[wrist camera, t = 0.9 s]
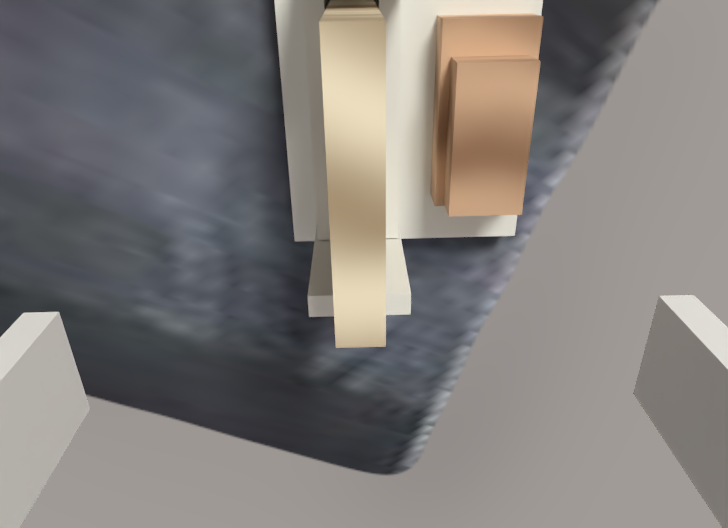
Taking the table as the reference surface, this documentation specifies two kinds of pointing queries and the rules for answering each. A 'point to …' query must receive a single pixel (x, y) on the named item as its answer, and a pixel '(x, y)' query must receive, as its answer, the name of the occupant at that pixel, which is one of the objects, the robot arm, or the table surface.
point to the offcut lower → (473, 40)
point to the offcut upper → (489, 133)
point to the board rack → (403, 136)
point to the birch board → (356, 167)
